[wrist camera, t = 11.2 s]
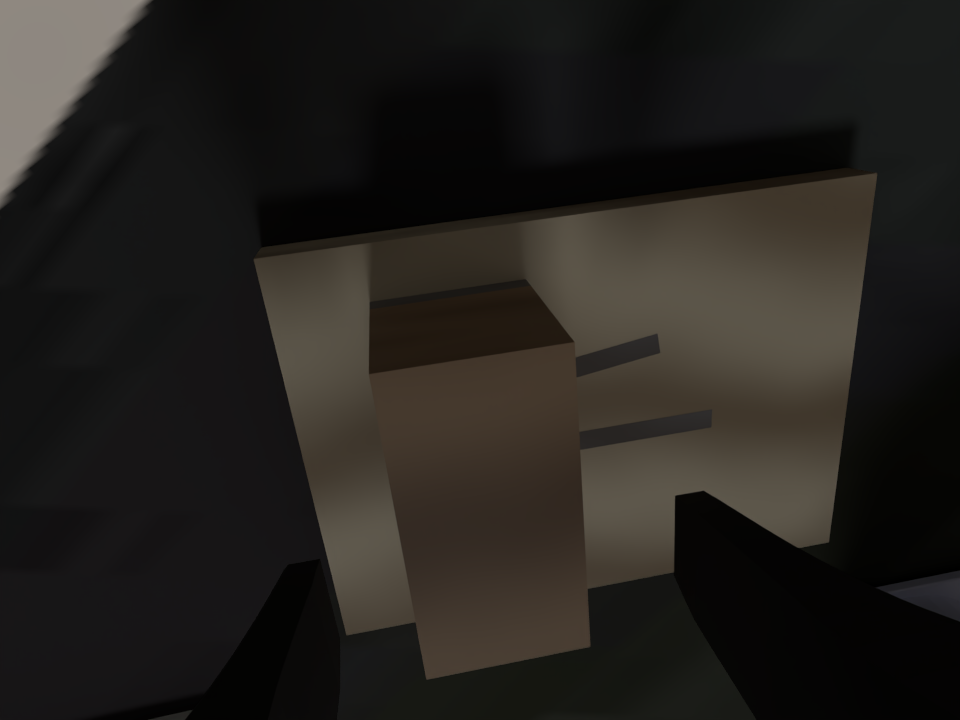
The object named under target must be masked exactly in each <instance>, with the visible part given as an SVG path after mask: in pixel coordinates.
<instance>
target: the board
mask: <svg viewBox="0 0 960 720" xmlns="http://www.w3.org/2000/svg"><path fill="white" fill-rule="evenodd" d="M876 179H877V173H874V172H868V171H863V170H857V169H852V168H841V169H834V170H826V171H819V172H812V173H804V174H797V175H790V176H782V177H775V178H768V179H760V180H753V181H746V182H738V183H731V184H724V185H716V186H709V187H702V188H694V189H687V190H680V191H672V192H665V193H657V194H650V195H643V196H635V197H628V198H621V199H613V200H606V201H599V202H591V203H584V204H577V205H569V206H562V207H555V208H547V209H540V210H533V211H525V212H518V213H511V214H503V215H496V216H489V217H481V218H474V219H467V220H459V221H452V222H444V223H437V224H430V225H422V226H415V227H408V228H400V229H393V230H386V231H378V232H371V233H364V234H356V235H349V236H342V237H334V238H327V239H320V240H312V241H305V242H298V243H290V244H283V245H276V246H268V247H261V249H260V250H259V252H258V253H257V255H256V256H255V258H254V263H255V267H256V271H257V275H258V279H259V283H260V287H261V291H262V295H263V299H264V303H265V307H266V311H267V315H268V319H269V323H270V327H271V331H272V335H273V339H274V343H275V347H276V351H277V356H278V360H279V364H280V368H281V372H282V376H283V380H284V384H285V388H286V392H287V396H288V400H289V404H290V408H291V412H292V416H293V420H294V424H295V428H296V432H297V436H298V440H299V444H300V449H301V453H302V457H303V461H304V465H305V469H306V473H307V477H308V481H309V485H310V489H311V493H312V497H313V501H314V505H315V509H316V513H317V517H318V521H319V525H320V529H321V533H322V537H323V542H324V546H325V550H326V554H327V558H328V562H329V566H330V570H331V574H332V578H333V582H334V586H335V590H336V594H337V598H338V602H339V606H340V610H341V614H342V618H343V622H344V626H345V630H346V635H350V634H356V633H361V632H366V631H371V630H376V629H382V628H387V627H392V626H397V625H402V624H407V623H413V622H416V621H415V616H414V611H413V605H412V600H411V595H410V590H409V584H408V579H407V574H406V568H405V563H404V558H403V553H402V547H401V542H400V537H399V531H398V526H397V521H396V516H395V510H394V505H393V500H392V495H391V489H390V484H389V479H388V473H387V468H386V463H385V458H384V452H383V447H382V442H381V436H380V431H379V426H378V421H377V415H376V410H375V405H374V399H373V394H372V389H371V384H370V378H369V308H370V302H372V301H379V300H386V299H393V298H400V297H407V296H413V295H420V294H427V293H434V292H441V291H448V290H455V289H461V288H468V287H475V286H482V285H489V284H496V283H503V282H509V281H516V280H523V279H526V280H527V281H528V283H529V284H530V285H531V286H532V288H533V289H534V290H535V292H536V293H537V294H538V295H539V297H540V298H541V299H542V301H543V302H544V303H545V304H546V306H547V307H548V308H549V310H550V311H551V312H552V313H553V315H554V316H555V317H556V319H557V320H558V321H559V323H560V324H561V325H562V326H563V328H564V329H565V330H566V332H567V333H568V334H569V335H570V337H571V338H572V339H573V341H574V342H575V357H576V377H577V396H578V416H579V436H580V455H581V475H582V494H583V514H584V533H585V553H586V572H587V589H589V588H594V587H599V586H604V585H609V584H615V583H620V582H625V581H630V580H635V579H641V578H646V577H651V576H656V575H661V574H666V573H672V572H674V535H675V496H676V495H682V494H687V493H693V492H698V491H705V492H707V493H709V494H710V495H712V496H714V497H715V498H717V499H719V500H720V501H722V502H724V503H725V504H727V505H728V506H730V507H732V508H733V509H735V510H736V511H738V512H740V513H741V514H743V515H744V516H746V517H748V518H749V519H751V520H752V521H754V522H756V523H757V524H759V525H760V526H762V527H764V528H765V529H767V530H769V531H770V532H772V533H774V534H775V535H777V536H779V537H780V538H782V539H784V540H785V541H787V542H789V543H791V544H792V545H794V546H796V547H797V548H801V547H806V546H811V545H817V544H822V543H827V542H829V537H830V529H831V521H832V514H833V506H834V499H835V491H836V483H837V476H838V468H839V460H840V453H841V445H842V438H843V430H844V422H845V415H846V407H847V399H848V392H849V384H850V377H851V369H852V361H853V354H854V346H855V339H856V331H857V323H858V316H859V308H860V300H861V293H862V285H863V278H864V270H865V262H866V255H867V247H868V239H869V232H870V224H871V217H872V209H873V201H874V194H875V186H876Z"/></svg>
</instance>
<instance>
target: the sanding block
mask: <svg viewBox="0 0 960 720" xmlns="http://www.w3.org/2000/svg"><path fill="white" fill-rule="evenodd" d="M369 378H370V384H371V389H372V394H373V399H374V405H375V410H376V415H377V421H378V426H379V431H380V436H381V442H382V447H383V452H384V458H385V463H386V468H387V473H388V479H389V484H390V489H391V495H392V500H393V505H394V510H395V516H396V521H397V526H398V531H399V537H400V542H401V547H402V553H403V558H404V563H405V568H406V574H407V579H408V584H409V590H410V595H411V600H412V605H413V611H414V616H415V621H416V627H417V632H418V637H419V642H420V648H421V653H422V658H423V664H424V669H425V674H426V679H432V678H437V677H442V676H447V675H452V674H457V673H462V672H467V671H472V670H477V669H482V668H487V667H492V666H497V665H502V664H507V663H512V662H517V661H522V660H527V659H532V658H537V657H541V656H546V655H551V654H556V653H561V652H566V651H571V650H576V649H581V648H586V647H590V631H589V611H588V592H587V572H586V553H585V533H584V514H583V494H582V475H581V455H580V436H579V416H578V396H577V377H576V357H575V342H574V341H573V339H572V338H571V337H570V335H569V334H568V333H567V332H566V330H565V329H564V328H563V326H562V325H561V324H560V323H559V321H558V320H557V319H556V317H555V316H554V315H553V313H552V312H551V311H550V310H549V308H548V307H547V306H546V304H545V303H544V302H543V301H542V299H541V298H540V297H539V295H538V294H537V293H536V292H535V290H534V289H533V288H532V286H531V285H530V284H529V283H528V281H527V280H526V279H523V280H516V281H509V282H503V283H496V284H489V285H482V286H475V287H468V288H461V289H455V290H448V291H441V292H434V293H427V294H420V295H413V296H407V297H400V298H393V299H386V300H379V301H372V302H370V308H369Z"/></svg>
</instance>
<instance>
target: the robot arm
mask: <svg viewBox="0 0 960 720" xmlns="http://www.w3.org/2000/svg"><path fill="white" fill-rule="evenodd" d="M674 576H675V578H676V581H677V583H678V585H679V587H680V590H681V592H682V594H683V596H684V599H685V601H686V603H687V605H688V607H689V609H690V611H691V613H692V615H693V618H694V620H695V621H696V623H697V625H698V626H699V628H700V630H701V631H702V633H703V635H704V636H705V638H706V639H707V641H708V643H709V644H710V646H711V648H712V649H713V651H714V652H715V654H716V656H717V657H718V659H719V660H720V662H721V664H722V665H723V667H724V668H725V670H726V672H727V673H728V675H729V676H730V678H731V680H732V681H733V683H734V684H735V686H736V688H737V689H738V691H739V692H740V694H741V696H742V697H743V699H744V700H745V702H746V703H747V705H748V707H749V708H750V710H751V711H752V713H753V715H754V716H755V718H756V720H960V571H955V572H950V573H945V574H940V575H935V576H930V577H925V578H920V579H915V580H910V581H905V582H900V583H895V584H890V585H885V586H880V587H873V586H871V585H869V584H867V583H864V582H862V581H860V580H858V579H856V578H854V577H852V576H850V575H848V574H846V573H844V572H842V571H840V570H838V569H836V568H834V567H832V566H830V565H829V564H827V563H825V562H823V561H821V560H819V559H817V558H815V557H813V556H812V555H810V554H808V553H806V552H805V551H803V550H801V549H799V548H797V547H796V546H794V545H792V544H791V543H789V542H787V541H785V540H784V539H782V538H780V537H779V536H777V535H775V534H774V533H772V532H770V531H769V530H767V529H765V528H764V527H762V526H760V525H759V524H757V523H756V522H754V521H752V520H751V519H749V518H748V517H746V516H744V515H743V514H741V513H740V512H738V511H736V510H735V509H733V508H732V507H730V506H728V505H727V504H725V503H724V502H722V501H720V500H719V499H717V498H715V497H714V496H712V495H710V494H709V493H707V492H705V491H698V492H693V493H687V494H682V495H676V496H675V535H674ZM339 693H340V637H339V633H338V629H337V625H336V621H335V617H334V613H333V609H332V605H331V601H330V597H329V593H328V589H327V585H326V581H325V577H324V573H323V569H322V566H321V562H320V559H318V560H312V561H306V562H301V563H295V564H290V565H288V566H287V567H286V568H285V570H284V571H283V573H282V574H281V576H280V578H279V580H278V582H277V583H276V585H275V587H274V589H273V590H272V592H271V594H270V596H269V597H268V599H267V601H266V602H265V604H264V606H263V607H262V609H261V611H260V612H259V614H258V616H257V617H256V619H255V621H254V622H253V624H252V625H251V627H250V629H249V630H248V632H247V633H246V635H245V636H244V638H243V640H242V641H241V643H240V644H239V646H238V647H237V649H236V651H235V652H234V654H233V655H232V657H231V658H230V659H229V661H228V662H227V664H226V665H225V666H224V668H223V669H222V671H221V672H220V674H219V675H218V676H217V678H216V679H215V681H214V682H213V683H212V685H211V686H210V688H209V689H208V690H207V692H206V693H205V695H204V696H203V697H202V698H201V700H200V701H199V702H198V704H197V705H196V706H195V708H194V709H193V710H192V711H191V713H190V714H189V715H188V716H187V718H186V719H185V720H337V712H338V703H339Z"/></svg>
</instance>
